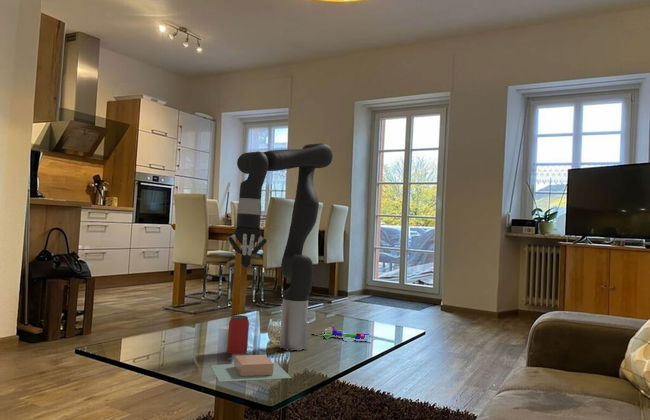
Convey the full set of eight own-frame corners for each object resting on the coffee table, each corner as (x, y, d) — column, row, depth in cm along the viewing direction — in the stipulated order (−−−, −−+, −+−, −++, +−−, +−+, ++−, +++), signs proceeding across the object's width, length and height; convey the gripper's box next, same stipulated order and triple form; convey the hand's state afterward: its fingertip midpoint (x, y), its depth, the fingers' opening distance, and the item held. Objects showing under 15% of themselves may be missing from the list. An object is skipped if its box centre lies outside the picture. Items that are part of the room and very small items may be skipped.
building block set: (381, 337, 200) (381, 326, 200) (368, 346, 181) (368, 335, 181) (326, 330, 209) (326, 319, 209) (308, 338, 190) (309, 326, 190)
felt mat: (275, 364, 146) (275, 362, 146) (291, 380, 131) (291, 377, 131) (209, 367, 138) (210, 365, 138) (219, 383, 123) (219, 381, 123)
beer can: (229, 356, 152) (232, 318, 152) (224, 351, 158) (227, 315, 158) (249, 355, 155) (252, 318, 155) (243, 350, 161) (245, 314, 161)
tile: (264, 354, 141) (234, 355, 138) (273, 363, 132) (241, 364, 129) (263, 365, 141) (233, 366, 138) (272, 375, 132) (241, 377, 128)
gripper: (265, 215, 158) (262, 267, 157) (226, 212, 153) (222, 265, 152) (272, 214, 151) (268, 268, 150) (230, 211, 146) (226, 267, 145)
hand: (245, 267), depth 151 cm, fingers closed
